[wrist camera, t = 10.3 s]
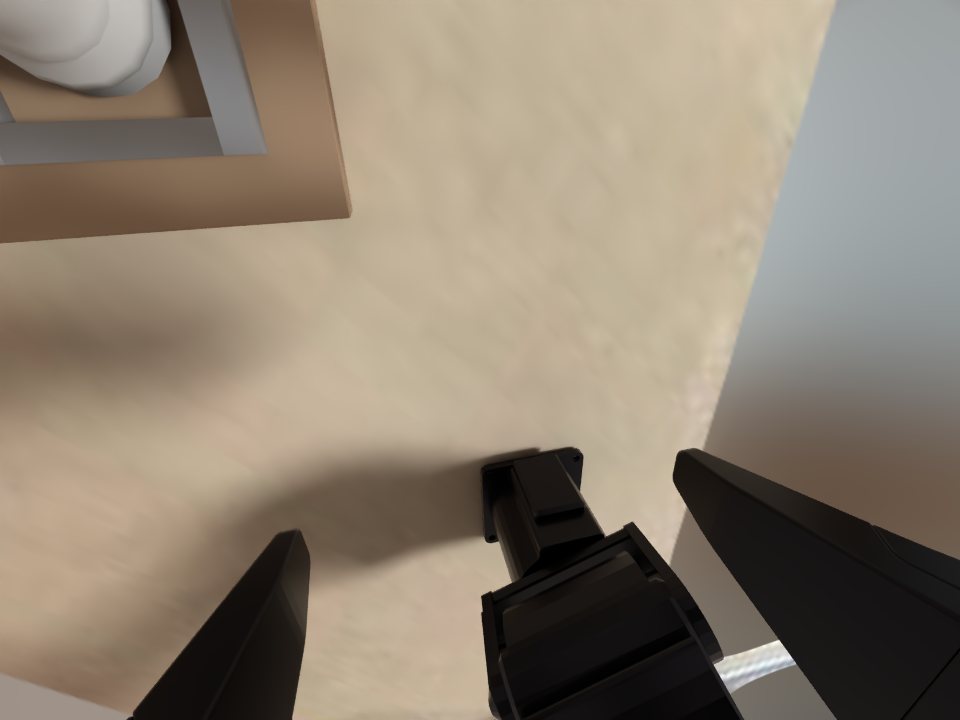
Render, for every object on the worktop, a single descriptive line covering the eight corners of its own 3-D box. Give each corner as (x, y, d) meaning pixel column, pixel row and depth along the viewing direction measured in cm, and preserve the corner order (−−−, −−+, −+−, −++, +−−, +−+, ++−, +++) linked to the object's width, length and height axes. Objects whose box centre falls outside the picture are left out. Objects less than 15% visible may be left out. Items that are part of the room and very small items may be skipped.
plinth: (352, 210, 17) (347, 223, 14) (7, 234, 14) (-81, 255, 12) (269, -256, 11) (233, -393, 8) (-314, -327, 9) (-630, -546, 6)
